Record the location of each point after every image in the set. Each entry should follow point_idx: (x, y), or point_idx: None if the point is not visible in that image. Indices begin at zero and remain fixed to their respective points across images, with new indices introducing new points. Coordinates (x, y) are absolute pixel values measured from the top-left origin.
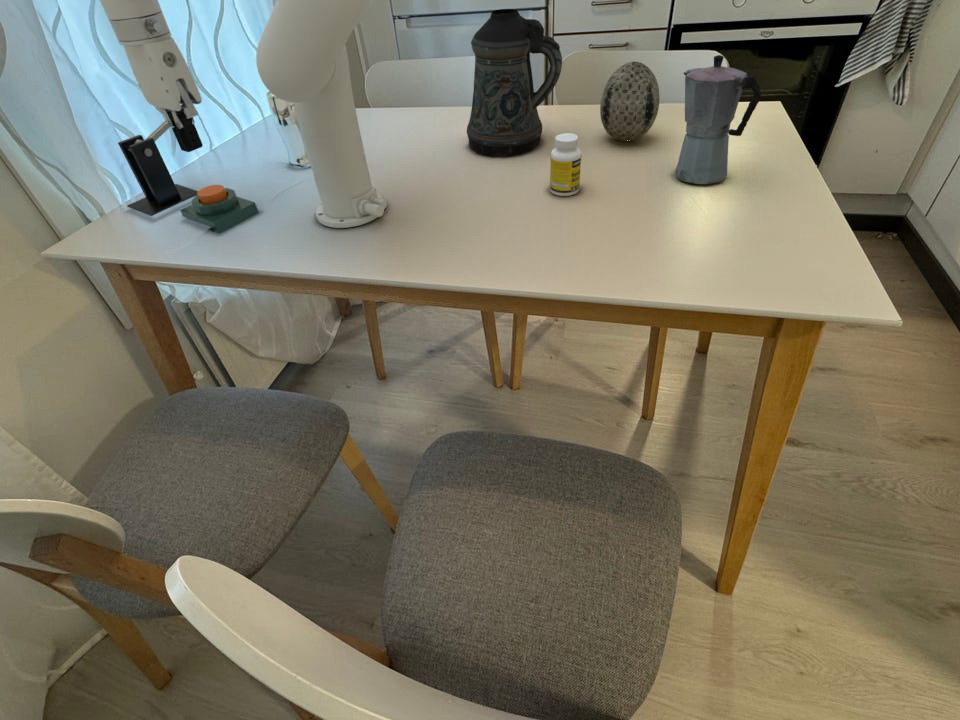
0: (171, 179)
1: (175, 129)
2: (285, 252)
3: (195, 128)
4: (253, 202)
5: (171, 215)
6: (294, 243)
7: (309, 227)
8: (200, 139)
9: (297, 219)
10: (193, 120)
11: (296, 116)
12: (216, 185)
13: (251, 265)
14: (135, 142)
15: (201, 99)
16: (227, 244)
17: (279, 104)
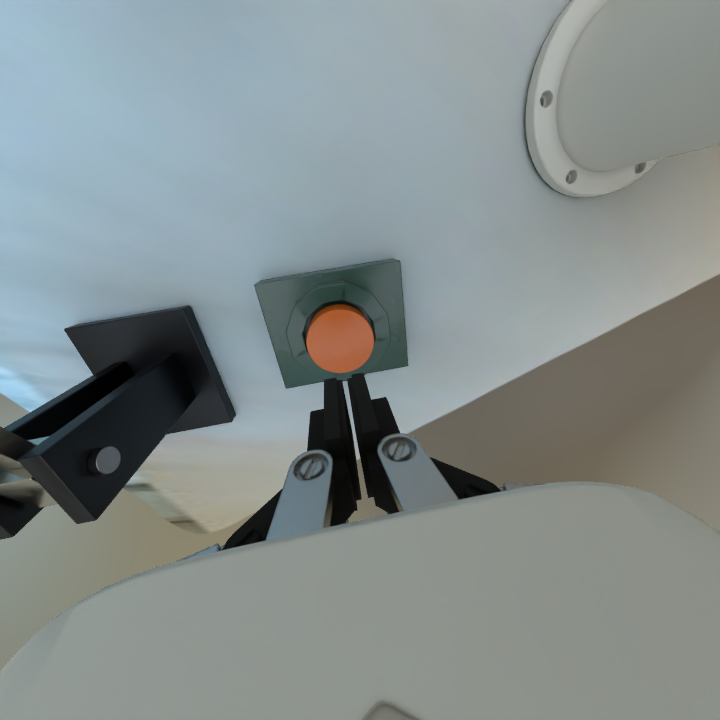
0: (150, 375)
1: (360, 499)
2: (566, 310)
3: (373, 413)
4: (397, 263)
5: (237, 385)
6: (562, 282)
7: (550, 222)
8: (365, 382)
9: (499, 217)
10: (420, 448)
11: None
12: (324, 320)
13: (540, 364)
14: (11, 493)
15: (679, 506)
16: (449, 361)
17: None
